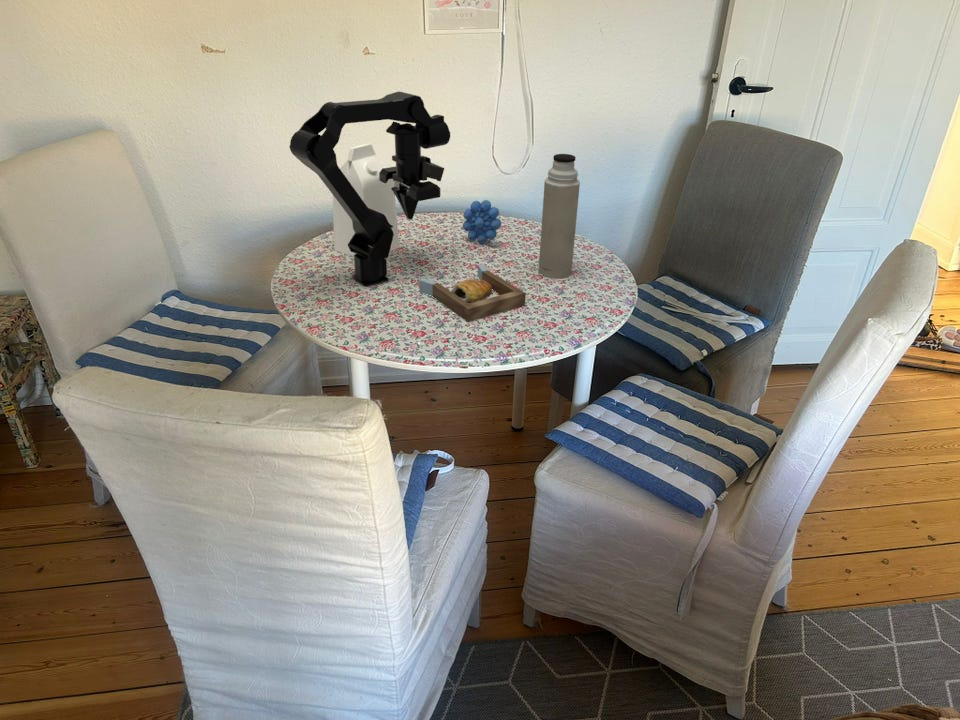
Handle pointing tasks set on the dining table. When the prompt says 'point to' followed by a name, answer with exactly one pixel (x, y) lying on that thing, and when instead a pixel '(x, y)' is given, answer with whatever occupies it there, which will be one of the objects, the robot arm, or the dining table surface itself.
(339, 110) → the robot arm
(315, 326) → the dining table surface
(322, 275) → the dining table surface
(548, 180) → the thermos bottle
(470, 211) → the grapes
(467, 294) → the pastry
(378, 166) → the milk
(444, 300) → the holder
